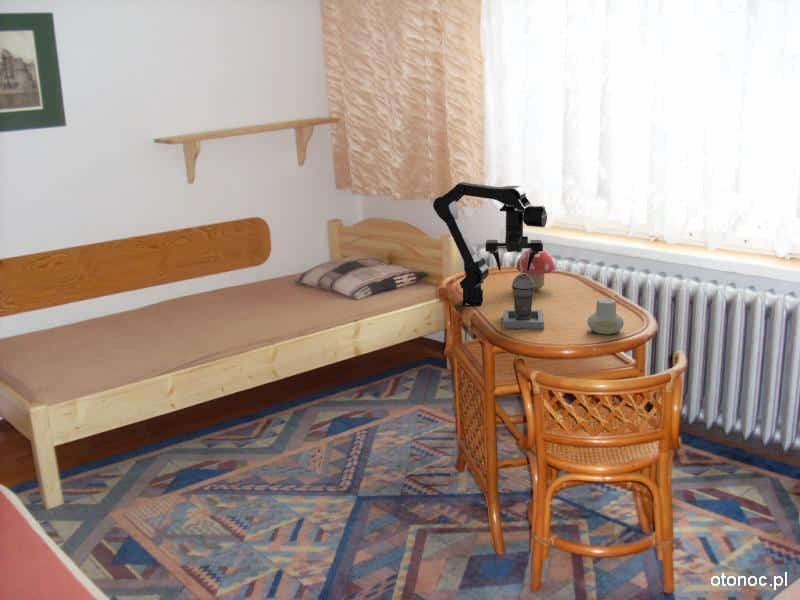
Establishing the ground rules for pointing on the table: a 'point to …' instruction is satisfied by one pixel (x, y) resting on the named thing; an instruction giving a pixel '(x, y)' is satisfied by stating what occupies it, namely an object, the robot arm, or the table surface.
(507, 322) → the tray
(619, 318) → the air freshener
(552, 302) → the table surface
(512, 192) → the robot arm
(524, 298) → the beverage cup
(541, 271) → the decorative mushroom
